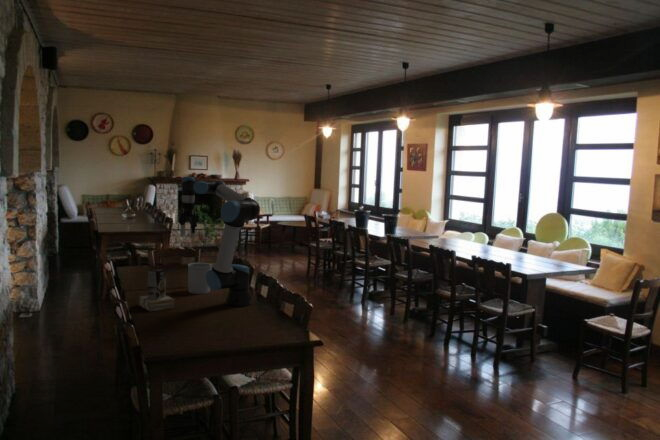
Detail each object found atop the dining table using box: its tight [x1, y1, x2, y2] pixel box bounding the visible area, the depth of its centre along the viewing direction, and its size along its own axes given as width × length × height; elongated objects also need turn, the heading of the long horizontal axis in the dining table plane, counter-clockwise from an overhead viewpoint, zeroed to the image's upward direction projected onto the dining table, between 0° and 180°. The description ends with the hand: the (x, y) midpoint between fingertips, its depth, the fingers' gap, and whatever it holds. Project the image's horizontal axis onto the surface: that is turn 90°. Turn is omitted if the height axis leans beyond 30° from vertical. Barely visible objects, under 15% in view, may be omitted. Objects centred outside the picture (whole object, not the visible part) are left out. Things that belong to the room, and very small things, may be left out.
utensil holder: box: [187, 262, 213, 295], centre depth 346 cm, size 15×15×18 cm
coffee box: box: [147, 268, 167, 300], centre depth 305 cm, size 9×6×16 cm
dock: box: [138, 294, 176, 312], centre depth 306 cm, size 16×14×5 cm
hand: (187, 236), depth 330 cm, fingers open, 13 cm apart
